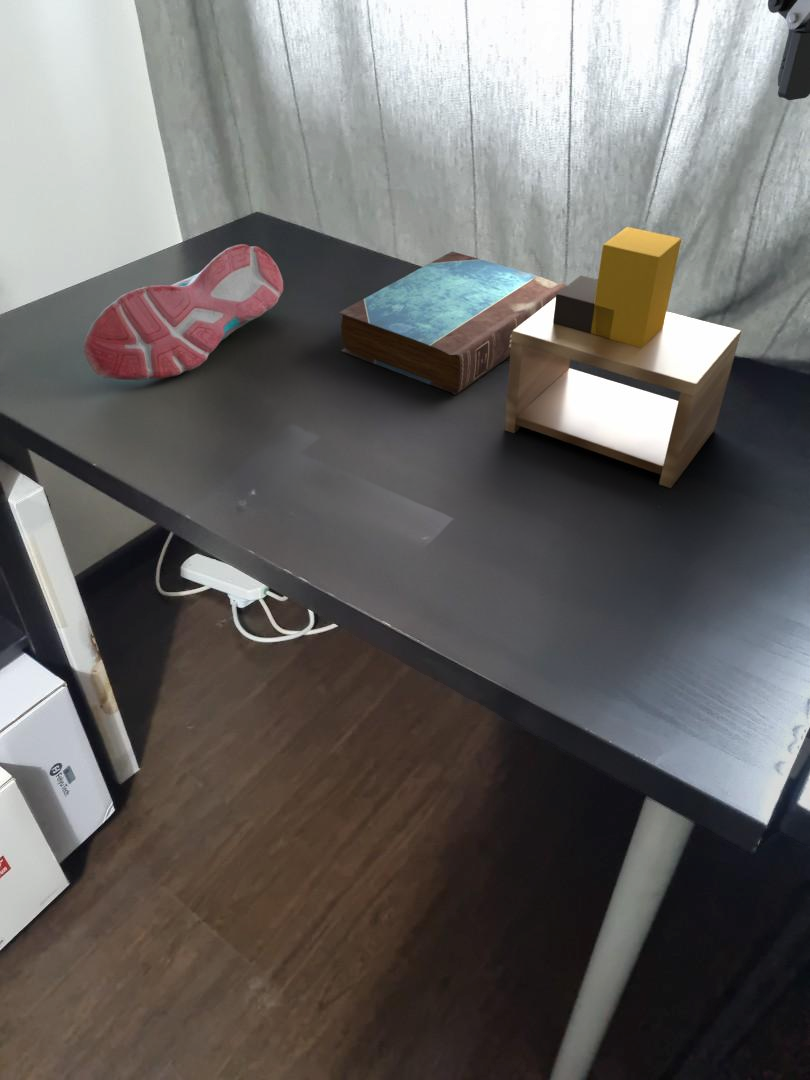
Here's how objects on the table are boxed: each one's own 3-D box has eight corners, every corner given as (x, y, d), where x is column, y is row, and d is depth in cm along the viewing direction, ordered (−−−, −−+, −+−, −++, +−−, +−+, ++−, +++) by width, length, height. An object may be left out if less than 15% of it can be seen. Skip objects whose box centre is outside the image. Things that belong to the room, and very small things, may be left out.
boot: (663, 326, 79) (682, 238, 73) (641, 348, 75) (659, 257, 70) (576, 303, 83) (588, 218, 77) (552, 323, 80) (562, 235, 74)
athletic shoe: (266, 306, 111) (204, 232, 107) (299, 281, 104) (233, 201, 99) (131, 434, 99) (54, 356, 94) (158, 416, 91) (75, 331, 87)
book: (459, 396, 91) (460, 355, 88) (339, 350, 99) (336, 311, 96) (562, 321, 105) (567, 283, 101) (449, 286, 113) (450, 250, 110)
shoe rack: (714, 430, 85) (741, 330, 78) (670, 488, 78) (696, 384, 71) (557, 381, 93) (568, 286, 86) (504, 430, 86) (512, 330, 78)
